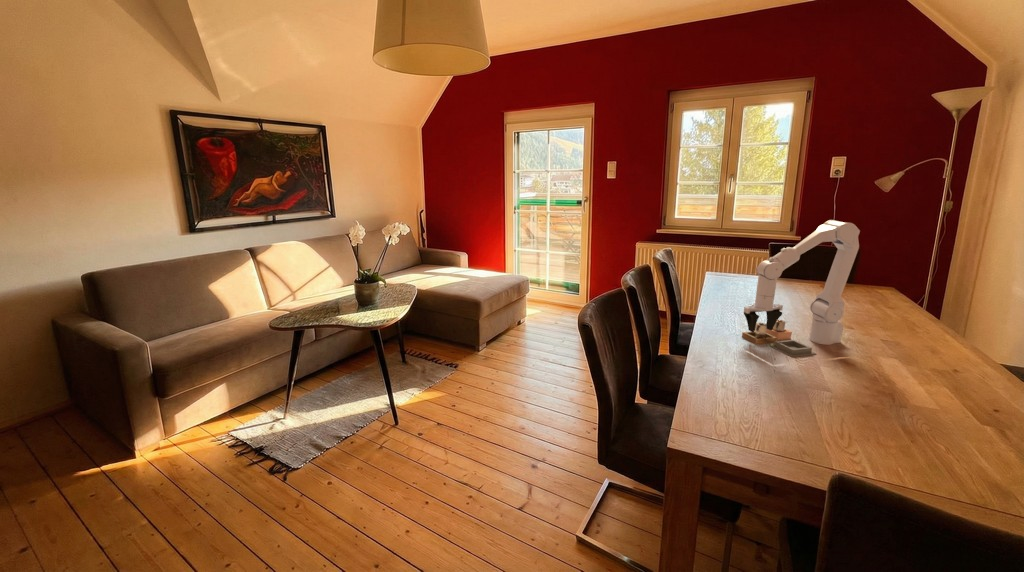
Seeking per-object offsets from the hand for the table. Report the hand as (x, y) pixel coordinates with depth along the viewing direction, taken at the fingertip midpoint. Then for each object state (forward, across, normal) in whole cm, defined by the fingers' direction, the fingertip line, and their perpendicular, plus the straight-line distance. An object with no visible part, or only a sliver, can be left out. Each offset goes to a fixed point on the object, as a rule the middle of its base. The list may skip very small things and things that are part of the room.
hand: (760, 330), depth 158 cm
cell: (+4, 0, 0) cm, 4 cm away
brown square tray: (+4, 0, 0) cm, 4 cm away
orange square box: (+4, -9, -1) cm, 10 cm away
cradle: (+4, -4, +11) cm, 12 cm away
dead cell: (+4, -9, -1) cm, 10 cm away
